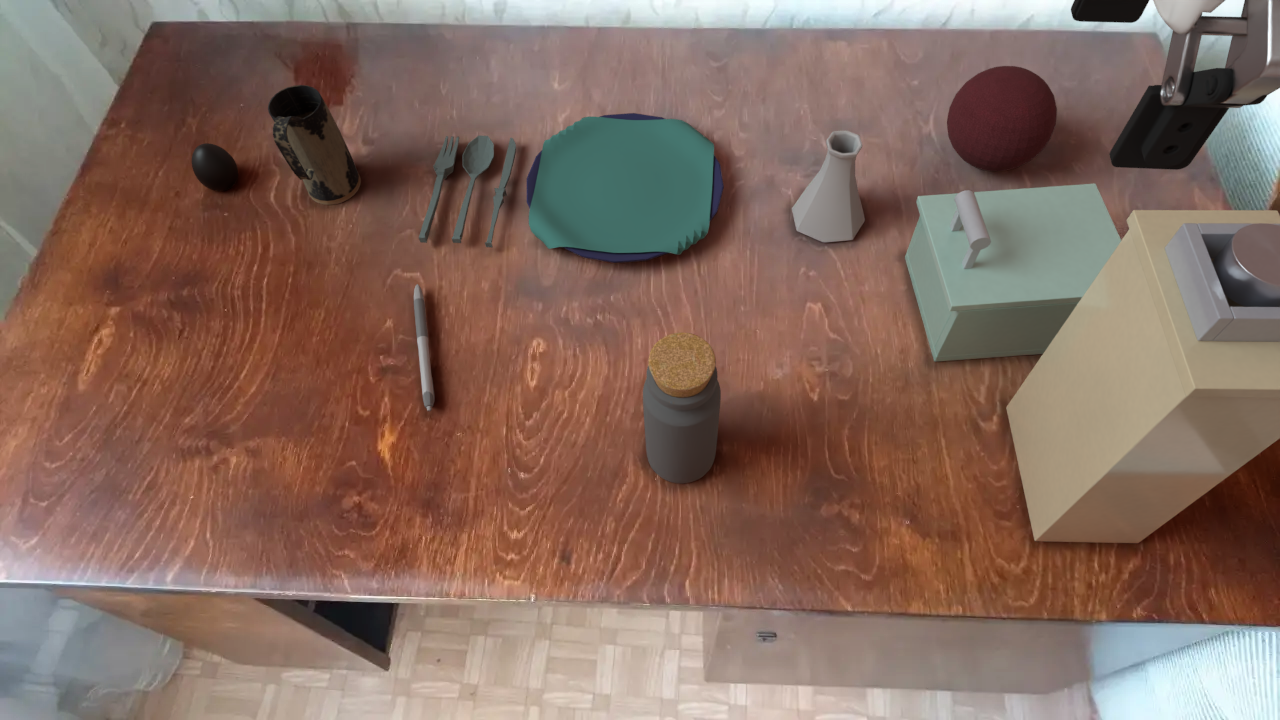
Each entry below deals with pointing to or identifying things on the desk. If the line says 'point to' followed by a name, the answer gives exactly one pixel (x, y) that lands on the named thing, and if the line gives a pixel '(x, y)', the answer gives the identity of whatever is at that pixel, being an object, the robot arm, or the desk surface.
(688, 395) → the bottle
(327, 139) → the mug
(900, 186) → the desk surface
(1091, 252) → the pale green box lid
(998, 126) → the decorative ball
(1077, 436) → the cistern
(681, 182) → the cutlery set
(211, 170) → the egg
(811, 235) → the flask
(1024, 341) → the bowl box
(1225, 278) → the flush button
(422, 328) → the pen
